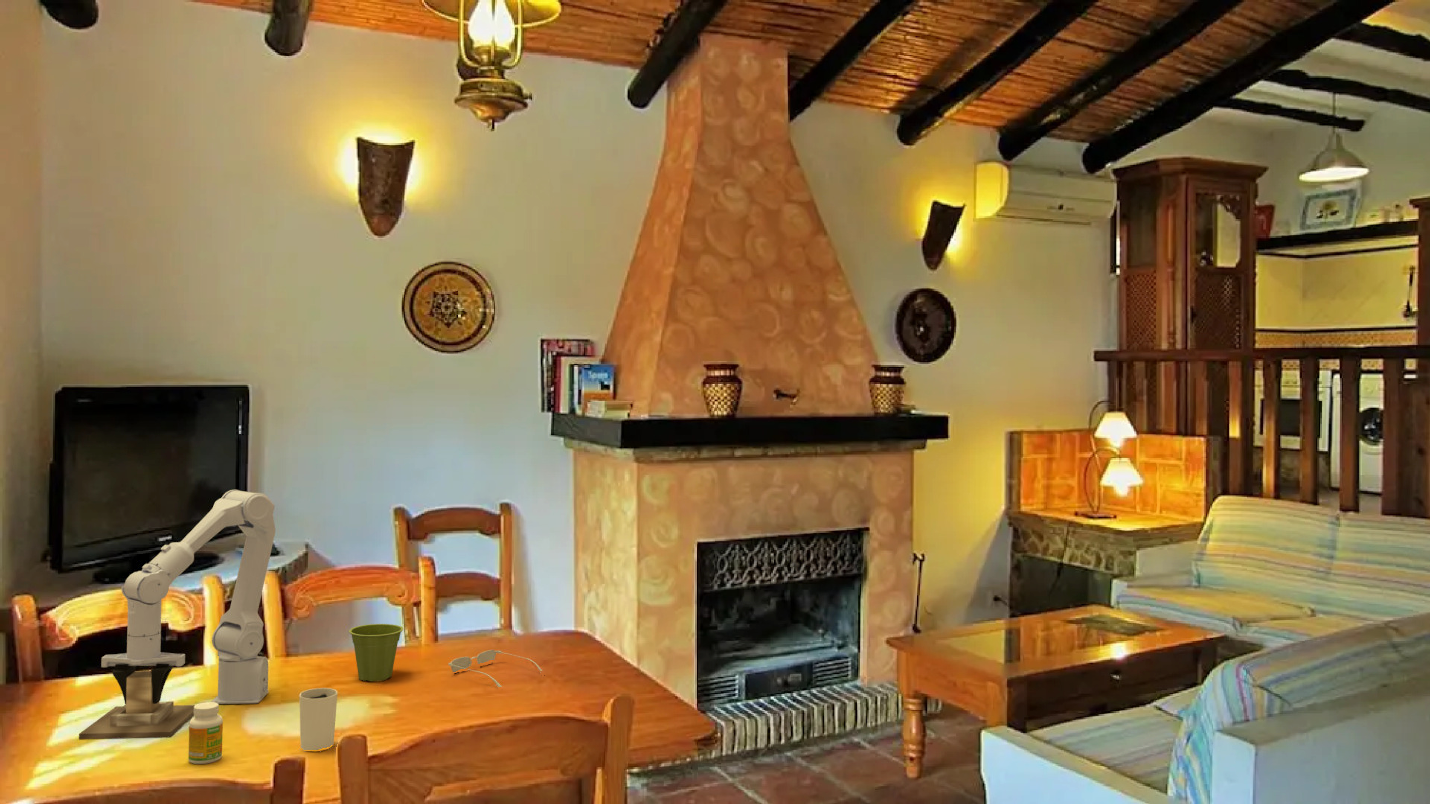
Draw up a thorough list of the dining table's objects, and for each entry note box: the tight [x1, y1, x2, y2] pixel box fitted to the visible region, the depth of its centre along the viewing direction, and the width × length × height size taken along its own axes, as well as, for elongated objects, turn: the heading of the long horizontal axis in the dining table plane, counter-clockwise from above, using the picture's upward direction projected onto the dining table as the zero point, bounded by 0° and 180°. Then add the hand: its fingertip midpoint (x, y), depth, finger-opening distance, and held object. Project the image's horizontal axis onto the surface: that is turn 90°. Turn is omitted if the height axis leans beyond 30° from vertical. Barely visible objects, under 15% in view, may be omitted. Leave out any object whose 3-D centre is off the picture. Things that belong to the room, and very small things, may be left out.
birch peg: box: [126, 670, 160, 714], centre depth 198 cm, size 4×4×8 cm
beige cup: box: [298, 687, 338, 750], centre depth 189 cm, size 7×7×10 cm
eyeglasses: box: [447, 649, 543, 688], centre depth 237 cm, size 15×18×4 cm
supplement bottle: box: [187, 701, 224, 765], centre depth 181 cm, size 5×5×10 cm
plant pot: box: [348, 623, 404, 682], centre depth 232 cm, size 12×12×11 cm
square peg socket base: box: [78, 700, 196, 740], centre depth 198 cm, size 16×16×3 cm
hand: (142, 702), depth 198 cm, fingers closed on birch peg, 4 cm apart
